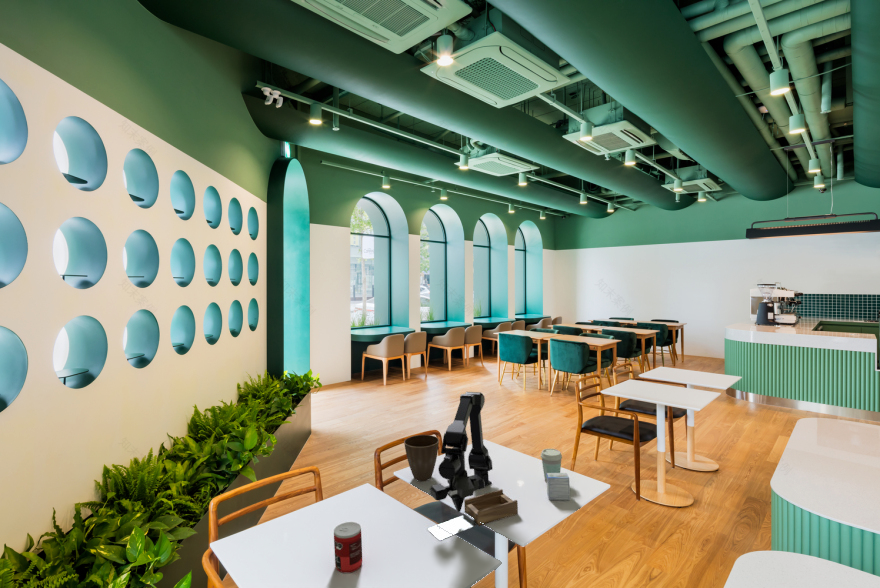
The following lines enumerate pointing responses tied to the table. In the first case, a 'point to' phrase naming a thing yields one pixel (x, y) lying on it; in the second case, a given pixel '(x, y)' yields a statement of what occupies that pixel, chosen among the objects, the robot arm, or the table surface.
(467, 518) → the cover plate
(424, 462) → the plant pot
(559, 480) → the medicine box
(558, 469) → the coffee cup
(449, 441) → the robot arm
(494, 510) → the walnut box
